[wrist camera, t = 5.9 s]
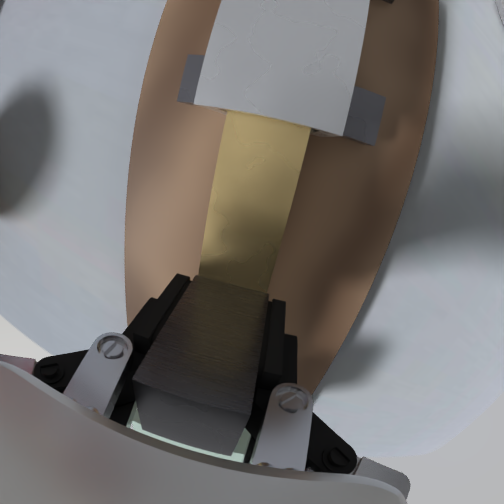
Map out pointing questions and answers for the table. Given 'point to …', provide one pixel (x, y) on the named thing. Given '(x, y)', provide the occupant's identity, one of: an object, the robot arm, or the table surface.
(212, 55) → the sleeve
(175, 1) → the base board
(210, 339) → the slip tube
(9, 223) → the table surface
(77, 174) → the table surface
